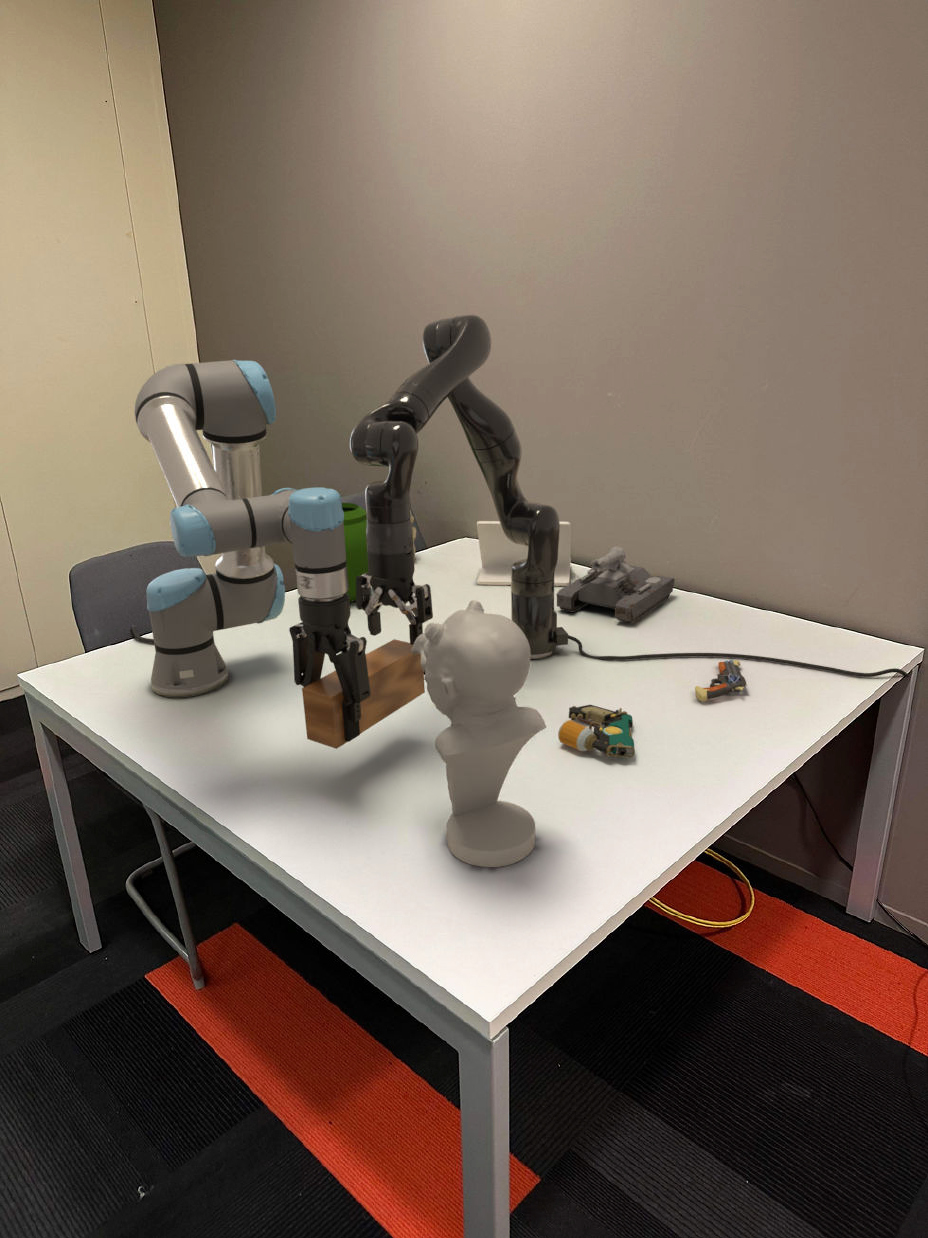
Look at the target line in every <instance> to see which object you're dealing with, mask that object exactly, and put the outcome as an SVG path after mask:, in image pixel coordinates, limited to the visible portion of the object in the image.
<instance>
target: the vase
mask: <svg viewBox="0 0 928 1238" xmlns="http://www.w3.org/2000/svg"><path fill="white" fill-rule="evenodd" d="M341 503H342V510H343V512H344V520H343V521H344V536H345V550H346V565H347V575H348V585H349V590H348V591H347V593H348V594H349V599H350V603H352V602H355V601H356V577H357V576H360V575H362V574H365V573H369V569H368V555H367V540H366V528H367V514H366V509H364V508H363V507H362V506H361V505H359V504H356V503H352V502H341ZM370 576H371V575H370Z"/></svg>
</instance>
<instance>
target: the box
mask: <svg viewBox="0 0 928 1238" xmlns="http://www.w3.org/2000/svg"><path fill="white" fill-rule="evenodd" d="M412 647H413V645H411V644H410V642H409V641H403V640H400V639H395V638H393V639H392V640H390V641H388V642H386V643H384V644H382V645H380V646H378V647H377V648H375V649H373V650H371V651H369V652H367V653H365V654H366V662H367V669H368V677H369V684H370V692H371V696H370V697H368V698H367V699H365V700H363V701H362V702H360V704H361V719H359V728H360V735H361V734H362V733H364V732H365V731H367V730H369V729H370V728H372V727H373V726H375V725H376V724H378V723H379V722H381V721H383V720H384V719H386V718H388V717H389V716H391V715H392V714H393V713H395V712H397V711H398V710H400V709H402V708H404V707H405V706H406V705H407V704H410V703H411V702H413V701H414V700H415V699H417V698H419V697H420V696H422V695H424V693H425V692H426V691H425V690H426V687H425V671H424V670H423V669H422V667H421V654H412V653H411V649H412ZM301 692H302V702H303V713H304V720H305V730H306V731H305V732H306V739H307V740H309V741H312V742H315V743H317V744H321V745H323V746H327V747H330V748H333V749H336V750H337V749H339V748H341V747H342V746H343V745H345V744H347V743H348V742H347V741H345V734H344V722H343V711H342V703H343V702H345V701H346V700H345V697H344V694H343V691H342V688H341V685H340V682H339V679H338V676H337V673H336V670H334V671H332V672H330V673H328V674H327V675H324V676H323V677H322V676H321V679H319V680H317V681H315V682H313V683H311V684H309V685H307V686H306V687H304V688H303V687H302V688H301ZM352 694H353V693H352Z"/></svg>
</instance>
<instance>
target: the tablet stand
mask: <svg viewBox="0 0 928 1238" xmlns="http://www.w3.org/2000/svg"><path fill="white" fill-rule="evenodd" d="M559 522H560V532H559V547H558V560H557V565H556V568H555V572H554V587H556V586H557V587H566V586H567V585H569V584H570V580H571V579H570V578H571V565H572V564H571V560H572V558H571V522H569V521H559ZM476 531H477V537H478V544H479V551H480V557H481V558H480V559H481V570H480V573H479V575H478V577H477V580H476V581H477V582H476V584H478V585H484V586H485V585H486V586H487V585H489V586H490V585H491V586H511V567H512V564H513V563H515V562H516V561H519V560H522V559H527V556H528V546H524V545H519V544H516V543H513V542H511V541H510V540H509V539H508V538H507V537H506V536H505V534H504V532H503V529H502V527H501V524H500V521H499V520H477V522H476Z"/></svg>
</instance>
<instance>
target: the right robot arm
mask: <svg viewBox="0 0 928 1238" xmlns="http://www.w3.org/2000/svg"><path fill="white" fill-rule="evenodd" d="M422 347H423V351H424V355H425V358H426V360H427V362H428V364H427V365H425V366H423V367H422V368H420V369H419V370H417V371H416V372H414V373H412V374H411V375H410V376H408V378H406V379H405V380H404V381H403V382H402V384H401V385H399V387H398V388H397V389H396V391H395V392H394V394H392V396H391V397H390V399H389V400H388V401H386V402H384V403H382V404H381V405H379V406H378V407H376V408H375V409H373V410H371V411H370V412H368V413H367V414H365V416H363V417H362V418H361V419H360V420H359V421H358V422H357V423H356V425H355V426H354V428H353V429H352V432H351V434H350V438H349V449H350V453H351V455H352V457H353V459H355V460H356V461H357V462H358V463H360V465H364V466H369V467H384V468H385V467H387V468H389V471H388V472H389V473H388V476H387V478H386V479H380V480H375V481H372V482H370V483H368V484H367V486H366V487H365V491H364V500H365V501H364V502H365V510H366V514H367V528H366V540H367V555H368V569H369V573H365V574H362V575H360V576H357V577H356V600H355V601H356V608H357V609H358V610H363V611H364V613H365V614H366V618H367V619H366V620H367V630H368V632H369V634H370V635H371V636H377V635H380V634H381V632H382V620H381V612H380V609H381V608H382V606H385V607H387V606H390V607H393V608H395V609H399V611H400V613H401V614H403V615H404V616H405V617H406V618H407V620H408V622H409V623H410V624H408V631H409V632H408V633H409V643H410V644H411V645H414V642H415V640H416V639H417V637H418V636H419V635H421V634H423V633H424V627H423V626H424V625H423V624H425V623H426V622H428V621H430V620H432V619H433V618H434V613H433V602H432V600H433V599H432V591H431V586H430V584H428V583H426V584H422V585H418V584H416V583H415V582H414V575H415V574H414V573H415V570H416V569H415V568H416V567H415V558H414V547H413V530H412V526H413V525H412V523H411V518H410V510H411V501H410V499H411V498H410V493H411V486H412V482H413V476H414V470H415V465H416V463H417V462H416V461H417V457H418V454H419V453H418V452H419V447H420V446H419V438H418V434H419V433H420V432H422V431H423V429H424V428H425V427H426V426H427V424H428V423H429V421H430V420H431V419H432V417H433V416H434V414H435V413H436V411H437V410H438V409H439V408H440V406H441V405H442V404H443V402H444V401H445V400H446V399H448V401H449V403H450V404H451V407H452V408H453V411H454V412H455V415H456V417H457V419H458V422H459V424H460V425H461V427H462V430H463V432H464V434H465V437H466V440H467V443H468V445H469V447H470V450H471V452H472V454H473V457H474V458H475V460H476V463H477V465H478V466H479V469H480V471H481V473H482V475H483V479H484V480H485V483H486V486H487V488H488V490H489V493H490V495H491V498H492V501H493V504H494V508H495V511H496V514H497V517H498V521H500V524H501V527H502V529H503V532H504V534H505V536H506V537H507V538H508V539H509V540H510V541H511V542H513V543H516V544H519V545H524V546H528V556H527V559H522V560H519V561H516V562H515V563H513V564H512V567H511V585H510V588H511V589H510V597H511V599H510V603H511V604H510V606H511V607H510V609H511V610H510V615H511V617H510V619H511V620H512V621H513V622H514V623H515V624H516V625H517V626H518V627H519V628H520V629H521V630H522V632H523V633H524V634H525V636H526V638H527V640H528V643H529V646H530V652H531V653H530V655H531V656H530V660H540V659H545V658H548V657H550V656H552V655H557V654H558V653H557V650H558V649H557V648H558V647H557V646H569V640H570V641H573V642H575V643H576V644H577V645H578V652H579V654H580V655H582V657H585V658H589V659H593V660H600V661H606V660H607V661H608V660H609V661H629V660H639V659H658V658H659V659H660V658H677V657H678V658H680V657H681V658H683V657H684V658H685V657H686V658H689V657H710V658H713V657H714V658H715V657H716V658H736V659H747V660H756V661H763V662H764V661H766V662H771V663H779V664H786V665H792V666H799V667H803V668H810V669H816V670H821V671H827V672H833V673H837V674H843V675H847V676H853V677H862V678H873V677H880V676H882V675H886V674H892V673H897V674H900V675H902V676H903V677H905V678H910V675H909V674H908V673H907V672H906V671H905V670H902V669H900V668H896V667H895V668H888V669H883V670H880V671H875V672H860V671H859V672H857V671H851V670H847V669H841V668H836V667H831V666H826V665H820V664H814V663H808V662H801V661H796V660H795V661H794V660H789V659H783V658H778V657H777V658H776V657H770V656H769V657H768V656H767V657H766V656H761V655H752V654H739V653H724V652H671V653H669V652H667V653H649V654H648V653H647V654H636V655H623V656H622V655H598V656H597V655H591V654H589V653H586V652H585V651H584V650H583V644H582V641H580V639H578V638H577V637H574V636H571V635H569V633H568V632H567V631H566V630H565V629H564V628H563V626H558V613H557V612H556V611H555V586H554V572H555V568H556V565H557V560H558V547H559V532H560V522H561V521H560V517H559V514H558V511H557V510H556V508H555V507H553V506H552V505H548V504H544V503H539V502H533V501H529V500H528V499H526V497H525V495H524V494H523V492H522V488H521V487H520V484H519V480H518V473H519V469H520V465H521V460H522V445H521V442H520V439H519V436H518V433H517V431H516V428H515V426H514V423H513V421H512V419H511V418H510V416H509V415H508V413H507V412H505V410H504V409H503V408H502V407H501V406H499V404H497V403H496V402H494V401H493V400H492V399H490V398H489V396H487V395H486V394H484V393H483V392H482V391H481V390H480V389H478V387H477V386H476V385H475V384H474V383H473V381H472V380H471V379H470V376H471V375H473V374H474V373H475V372H476V371H478V370H479V369H480V368H481V367H482V366H483V365H484V364H485V363H486V362H487V361H488V358H489V357H490V354H491V349H492V338H491V332H490V329H489V326H488V325H487V323H486V321H485V320H484V319H483V318H482V317H481V316H479V315H477V314H461V315H456V316H452V317H447V318H442V319H438V320H434V321H432V322H430V323H428V324H427V325H426V326H425V327H424V329H423V332H422ZM370 575H371V576H370ZM372 590H373V594H372ZM408 603H409V605H407V604H408Z"/></svg>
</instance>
